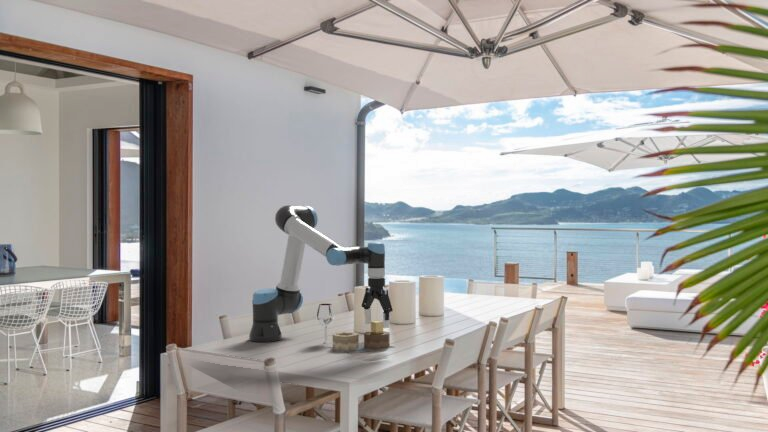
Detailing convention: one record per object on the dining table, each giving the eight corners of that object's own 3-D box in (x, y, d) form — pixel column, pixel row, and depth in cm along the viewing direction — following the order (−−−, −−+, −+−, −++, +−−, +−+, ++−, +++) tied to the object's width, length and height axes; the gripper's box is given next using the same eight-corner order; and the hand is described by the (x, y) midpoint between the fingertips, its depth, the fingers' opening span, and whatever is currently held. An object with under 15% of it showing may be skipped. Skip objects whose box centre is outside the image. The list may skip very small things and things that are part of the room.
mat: (350, 355, 278) (350, 354, 278) (327, 348, 293) (327, 347, 293) (396, 348, 292) (396, 347, 292) (372, 342, 307) (372, 340, 307)
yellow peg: (376, 347, 291) (375, 322, 291) (371, 346, 294) (370, 321, 294) (383, 346, 293) (382, 321, 293) (378, 345, 296) (377, 320, 296)
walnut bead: (374, 350, 286) (373, 336, 286) (360, 346, 295) (360, 332, 295) (393, 347, 292) (393, 333, 292) (379, 343, 301) (379, 330, 301)
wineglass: (320, 346, 298) (320, 306, 298) (314, 343, 305) (313, 304, 305) (337, 344, 302) (337, 304, 302) (330, 341, 309) (330, 302, 309)
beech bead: (341, 351, 284) (341, 337, 283) (328, 347, 292) (328, 333, 292) (362, 348, 290) (362, 334, 290) (349, 344, 298) (349, 331, 298)
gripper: (400, 279, 285) (400, 328, 285) (367, 275, 306) (367, 321, 306) (386, 280, 281) (386, 330, 281) (353, 276, 301) (354, 322, 301)
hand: (376, 325), depth 293 cm, fingers open, 13 cm apart
